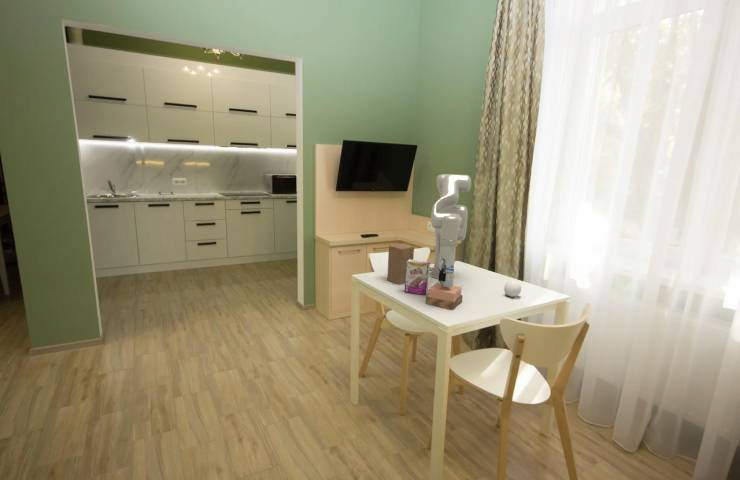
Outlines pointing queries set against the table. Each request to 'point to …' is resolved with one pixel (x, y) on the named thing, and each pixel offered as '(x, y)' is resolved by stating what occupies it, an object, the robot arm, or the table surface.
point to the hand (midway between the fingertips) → (445, 278)
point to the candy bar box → (417, 277)
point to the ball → (512, 288)
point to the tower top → (444, 292)
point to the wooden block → (398, 262)
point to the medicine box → (448, 277)
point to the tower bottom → (444, 302)
